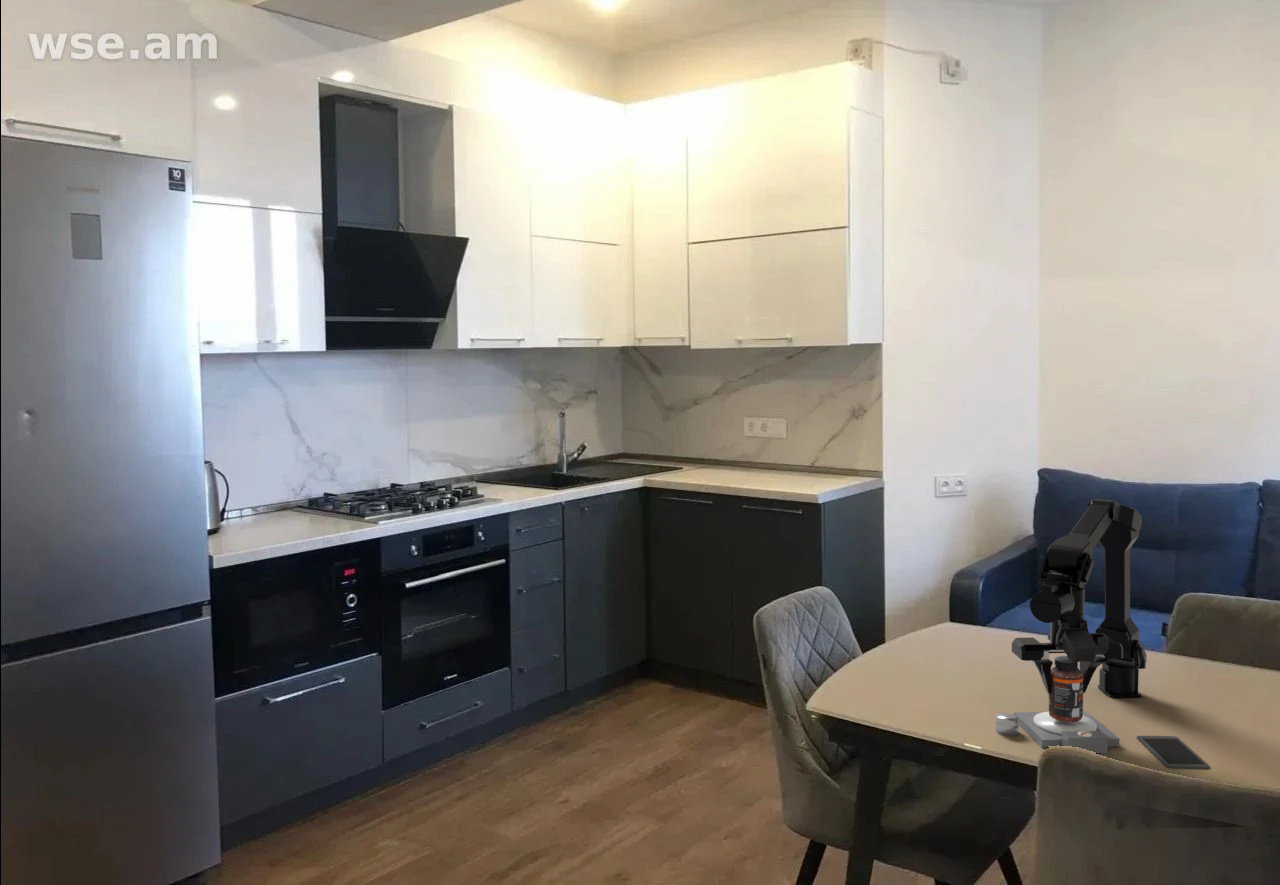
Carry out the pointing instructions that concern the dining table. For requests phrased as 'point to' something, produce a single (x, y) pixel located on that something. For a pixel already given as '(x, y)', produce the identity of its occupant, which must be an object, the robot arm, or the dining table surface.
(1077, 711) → the supplement bottle
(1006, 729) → the shiny metal cylinder
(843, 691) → the dining table surface
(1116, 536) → the robot arm
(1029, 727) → the scale
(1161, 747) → the cell phone
